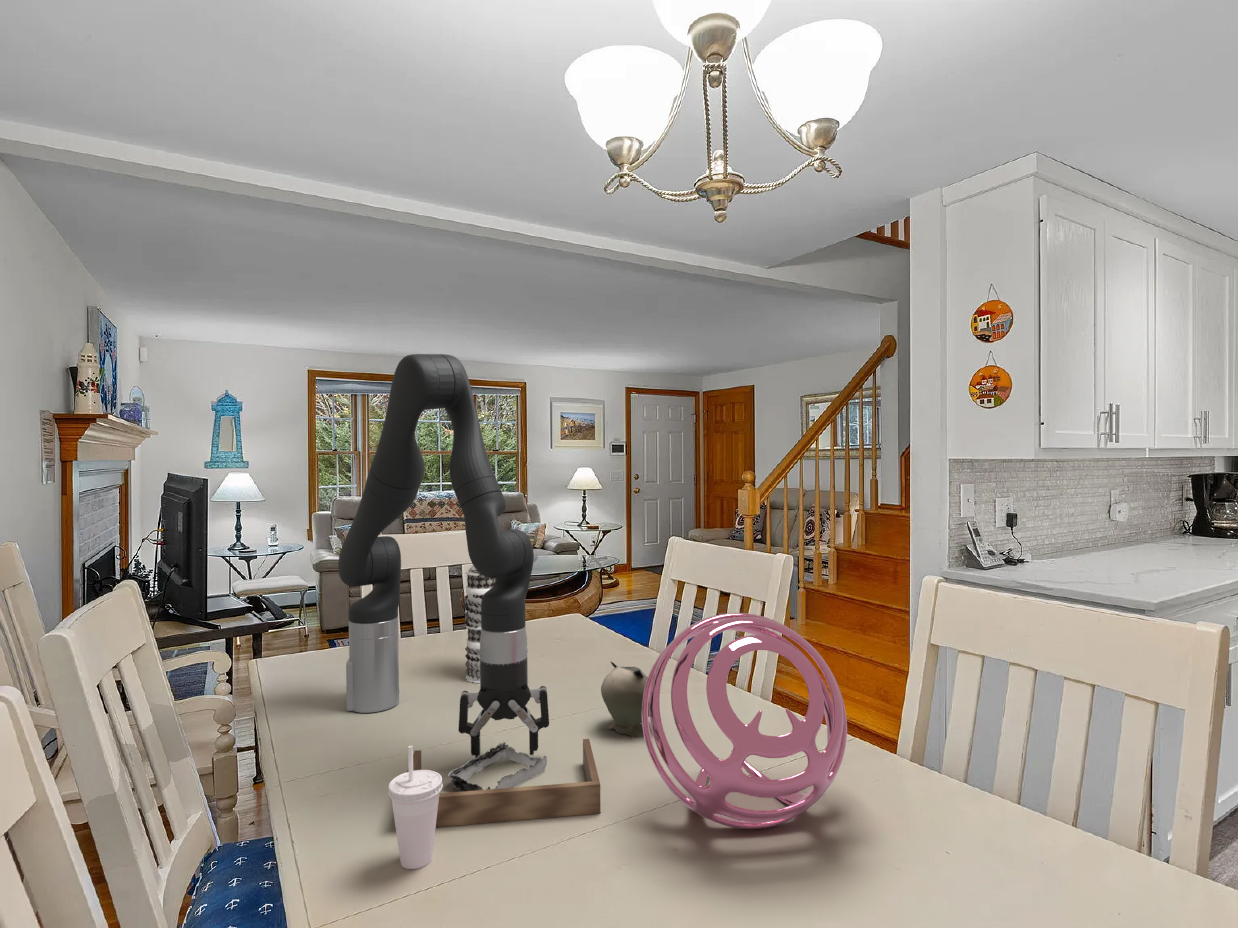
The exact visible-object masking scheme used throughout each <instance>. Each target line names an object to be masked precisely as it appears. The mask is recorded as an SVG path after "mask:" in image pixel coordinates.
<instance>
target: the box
mask: <svg viewBox="0 0 1238 928" xmlns="http://www.w3.org/2000/svg"><path fill="white" fill-rule="evenodd" d="M582 764H583V765H582V766H583V771H584V775H585V779H586V780H585V781H581V782H570V783H569V782H568V783H555V784H554V783H553V784H543V785H531V786H530V785H529V786H519V787H518V786H516V787H514V788H502V789H495V788H490V789H489V790H486V789H483V790H477V791H464V792H460V791H455V792H454V791H453V792H451V791H450V792H444V793H443V792H441V793H440V792H439V802H438V810H437V819H436V828H442V827H454V826H467V825H476V824H477V825H478V823H480V824H490V823H502V822H513V821H523V820H535V819H548V818H558V817H560V818H562V817H570V816H581V815H583V816H584V815H592V814H601V782H600V777H599V774H598V770H597V766H596V760H595V757H594V753H593V750H592V745H591V742H590V738H583V739H582ZM415 770H423V768H422V750H421V749H420V750H413V771H415ZM406 771H407V772H409V769H408V768H407V770H406Z"/></svg>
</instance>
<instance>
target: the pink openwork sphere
mask: <svg viewBox="0 0 1238 928" xmlns="http://www.w3.org/2000/svg"><path fill="white" fill-rule="evenodd" d="M725 631H737V632H743V633H747V634H751V635H744V636H742V637H739V638H736V639H734V640H732V641H730V642H728V643H727V644H726V645H725V646H724V647H722V648H721V649H720V650H719V651H718V652H717V654H716V655H715V657H714V658H713V660H712V662H711V664H710V666H709V669H708V672H707V678H706V699H707V703H708V707H709V710H710V712H711V715H712V717H713V719H714V721H715V723H716V725H717V726H718V727H719V729H720V730H721V732H722V733H723V734H724V736H725V737H726V738H727V739H728V740H729V741H730V742H731V743H732V745H733V746H732V747H733V748H732V750H731V753H730V755H729V756H728V757H727V758H725V759H720V758H719V757H717V756H716V754H714V753H713V751H712V750H711V749H709V747H708V746H707V745H706V743H705V741H704V740H703V739H702V738H701V736H700V734H699V732H698V731H697V729H696V727H695V724H694V721H693V719H692V716H691V715H692V714H691V712H690V709H689V708H690V707H689V702H688V681H689V677H690V671H691V668H692V666H693V663H694V661H695V659H696V657H697V655H698V654H699V652H700V651H701V650H702V648H703V647H704V646H705V645H706V644H707V643H708V642H709V641H711V640H712V639H713V638H714V637H716V636H717V635H719V634H721V633H723V632H725ZM774 631H775V632H774ZM776 632H777V633H776ZM778 633H779V634H778ZM780 634H782V635H784V636H786V637H787V638H789V639H791V640H792V641H794V642H795V643H796V644H798V645H799V646H800V647H801V648H803V650H805V652H807V653H808V654H809V656H810V657H811V658H812V659H813V661H815V663H816V664H817V666H818V668H819V669H820V670H821V673H822V674H823V676H824V678H825V680H826V683H827V685H828V688H827V686H826V683H825V682H824V680H823V678H822V676H821V674H820V673H819V672H818V670H817V669H816V666H814V665H813V663H812V662H811V661H810V659H808V657H807V656H806V654H804V653H803V652H802V651H801V650H800V649H799V648H798V647H797V646H796V645H794V644H793V642H792V643H791V642H790V641H789V640H787V639H786V638H785V637H784V636H782V635H780ZM690 639H691V640H690ZM689 640H690V641H689ZM687 641H688V643H687V644H686V646H685V648H684V649H683V650H682V651H681V653H680V656H679V657H678V659H677V662H676V665H675V668H674V671H673V675H672V680H671V688H670V690H671V691H670V699H671V700H670V701H671V703H670V704H671V712H672V716H673V720H674V723H675V727H676V730H677V732H678V734H679V736H680V739H681V741H682V743H683V745H684V747H685V748H686V750H687V751H688V753H689V754H690V756H691V757H692V758H693V760H694V761H695V762H696V763H697V765H699V766H700V768H701V769H700V771H699V773H698V775H697V777H696V778H695V780H694V779H693V778H692V777H691V776H690V775H689V774H688V773H687V772H686V770H685V769H684V768H683V766H682V765H681V763H680V762H679V761H678V759H677V757H676V756H675V754H674V752H673V751H672V748H671V746H670V744H669V742H668V739H667V736H666V732H665V730H664V725H663V722H662V716H661V707H660V700H661V699H660V696H661V695H660V694H661V686H662V682H663V677H664V673H665V670H666V668H667V665H668V663H669V661H670V659H671V658H672V655H673V654H674V653H675V651H676V649H677V648H678V647H679V646H680V645H681V644H683V643H685V642H687ZM754 651H768V652H772V653H775V654H777V655H780V656H782V657H784V658H785V659H787V660H788V661H790V663H792V664H793V666H795V667H796V669H797V670H798V671H799V673H800V674H801V676H802V677H803V680H804V683H805V685H806V688H807V692H808V706H807V710H806V711H807V712H806V714H805V717H804V718H803V720H800V719H799V718H798V717H797V716H796V715H795V714H794V713H793V712H792V711H791V710H790V709H789V708H785V713H786V715H787V718H788V720H789V722H790V725H791V728H792V729H791V731H790V732H788V733H785V734H781V735H775V736H774V735H768V734H767V735H766V734H763V733H761V732H760V730H759V728H760V722H761V718H762V714H763V710H762V709H759V710H758V712H757V713H756V715H755V716H754V717H753V718H752V720H751V721H750V722H749V723H747V724H745V723H744V722H742V721H741V720H740V719H739V717H738V715H736V713H735V711H734V710H733V708H732V706H731V704H730V701H729V700H730V699H729V698H728V693H727V692H728V691H727V682H728V676H729V673H730V671H731V668H732V667H733V665H734V664H735V663H736V662H737V660H738V659H740V658H741V657H742V656H744V655H746V654H748V653H751V652H754ZM647 677H648V678H647V681H646V685H645V688H644V693H643V699H642V723H641V724H642V728H643V739H644V743H645V746H646V749H647V753H648V755H649V757H650V760H651V762H652V764H653V766H654V768H655V770H656V772H657V773H658V775H659V777H660V779H661V780H662V781H663V783H664V784H665V786H666V787H667V788H668V789H669V790H670V792H671V793H672V794H673V795H674V796H675V797H676V798H677V799H678V800H679V801H680V802H681V803H683V805H685V806H686V808H688V809H690V810H691V811H692V812H693V813H695V814H696V815H698V816H700V817H702V818H703V819H704V818H705V819H707V820H708V821H711V822H713V823H716V824H719V825H720V826H721V825H722V826H725V827H729V828H734V829H739V830H740V829H742V830H760V829H761V830H762V829H767V828H772V827H776V826H778V825H782V824H785V823H786V822H789V821H791V820H793V819H795V818H796V817H798V816H800V815H801V814H803V813H804V812H805V811H807V810H809V809H810V808H812V807H813V806H815V805H816V804H817V803H818V802H819V801H820V800H821V799H822V798H823V797H824V796H825V794H826V792H827V791H828V790H829V788H830V787H831V785H832V784H833V782H834V781H835V779H836V777H837V775H838V773H839V771H840V768H841V766H842V763H843V760H844V756H845V754H846V753H845V752H846V746H847V737H848V721H847V712H846V707H845V702H844V698H843V695H842V692H841V690H840V686H839V684H838V681H837V680H836V677H835V675H834V674H833V672H832V671H831V668H830V667H829V665H828V664H827V663H826V661H825V659H824V658H823V657H822V655H821V654H820V653H819V652H818V650H817V649H816V648H814V646H813V645H812V644H811V643H810V642H809V641H808V640H807V639H805V638H804V637H803V636H802V635H800V634H799V633H798V632H796V631H794V630H793V629H791V628H790V627H788V626H787V625H785V624H783V623H781V622H779V621H776V620H773V618H772V619H771V618H769V617H765V616H761V615H758V614H754V613H753V614H752V613H747V612H746V613H744V612H729V613H720V614H716V615H712V616H709V617H706V618H703V619H700V620H698V621H696V622H694V623H692V624H691V625H689V626H687V627H686V628H685V629H683V630H682V631H681V632H680V633H679V634H678V635H677V636H675V637H674V639H673V640H672V641H671V642H670V643H669V644H668V645H667V646H666V647H665V648H664V649H663V650H662V652H661V653H660V654H659V655H658V657H657V658H656V660H655V662H654V663H653V665H652V666H651V669H650V672H649V674H648V676H647ZM828 689H829V690H828ZM829 692H830V693H829ZM648 703H649V715H650V716H649V717H648ZM824 718H825V725H826V746H825V748H824V750H823V751H822V752H820V751H819V749H818V746H817V745H816V744H817V743H816V739H817V734H819V731H820V729H821V726H822V723H823V720H824ZM649 722H650V723H649ZM649 724H650V725H649ZM650 728H651V729H650ZM651 732H652V734H651ZM652 736H653V739H654V742H655V745H656V749H657V750H658V753H659V755H660V757H661V758H662V761H663V762H664V764H665V766H666V768H667V770H668V771H669V772H670V774H671V775H672V776H673V778H674V779H675V781H677V782H678V784H679V785H680V787H682V788H683V789H684V791H686V792H687V793H688V794H689V796H687V795H686V794H685V793H684V792H683V791H682V790H681V789H680V788H679V787H678V786H677V785H676V783H675V782H674V781H673V780H672V779H671V776H669V774H668V773H667V771H666V770H665V768H664V766H663V765H662V763H661V761H660V759H659V756H658V754H657V752H656V749H655V746H654V743H653V739H652ZM801 752H803V753H804V754H805V756H806V758H807V765H806V767H805V768H804V770H803V771H801V772H799V773H797V774H794V775H791V776H788V777H784V778H778V779H771V778H770V777H769V776H767V775H766V774H764V773H762V772H761V771H760V770H758V769H757V768H756V767H755V766H753V765H752V764H751V763H749V762H748V761H747V760H746V759H747V758H748V757H750V756H756V757H757V756H758V757H761V758H767V759H781V758H787V757H790V756H793V755H795V754H797V753H801ZM743 769H744V771H746V773H748V774H749V775H747V774H746V773H744V771H743ZM708 777H709V779H710V783H709V784H708V785H707V786H706V784H707V781H708ZM809 787H812V788H811V789H810V790H809V791H807V792H806V793H805V792H803V793H802V792H801V791H804V790H806V789H807V788H809ZM730 793H738V794H743V795H747V796H750V797H756V798H763V799H777V800H779V801H780V802H782V803H783V804H785V805H786V806H785V807H780V808H776V809H775V808H774V809H750V808H744V807H741V806H737V805H734V804H732V803H729V802H728V801H727V800H726V798H727V795H729V794H730Z"/></svg>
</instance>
